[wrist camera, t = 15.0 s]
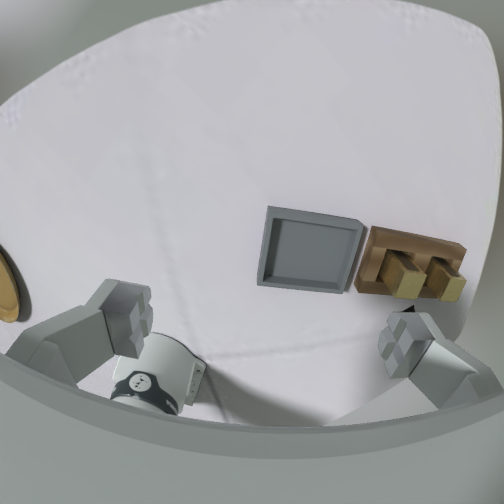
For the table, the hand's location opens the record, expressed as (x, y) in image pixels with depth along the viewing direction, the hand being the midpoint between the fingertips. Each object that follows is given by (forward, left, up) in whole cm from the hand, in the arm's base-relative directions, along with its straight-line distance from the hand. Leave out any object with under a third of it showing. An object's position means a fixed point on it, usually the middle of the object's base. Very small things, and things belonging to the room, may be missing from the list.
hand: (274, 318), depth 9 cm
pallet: (-11, -26, -29) cm, 41 cm away
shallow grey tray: (-11, -8, -29) cm, 32 cm away
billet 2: (-11, -31, -29) cm, 44 cm away
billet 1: (-10, -22, -29) cm, 38 cm away
